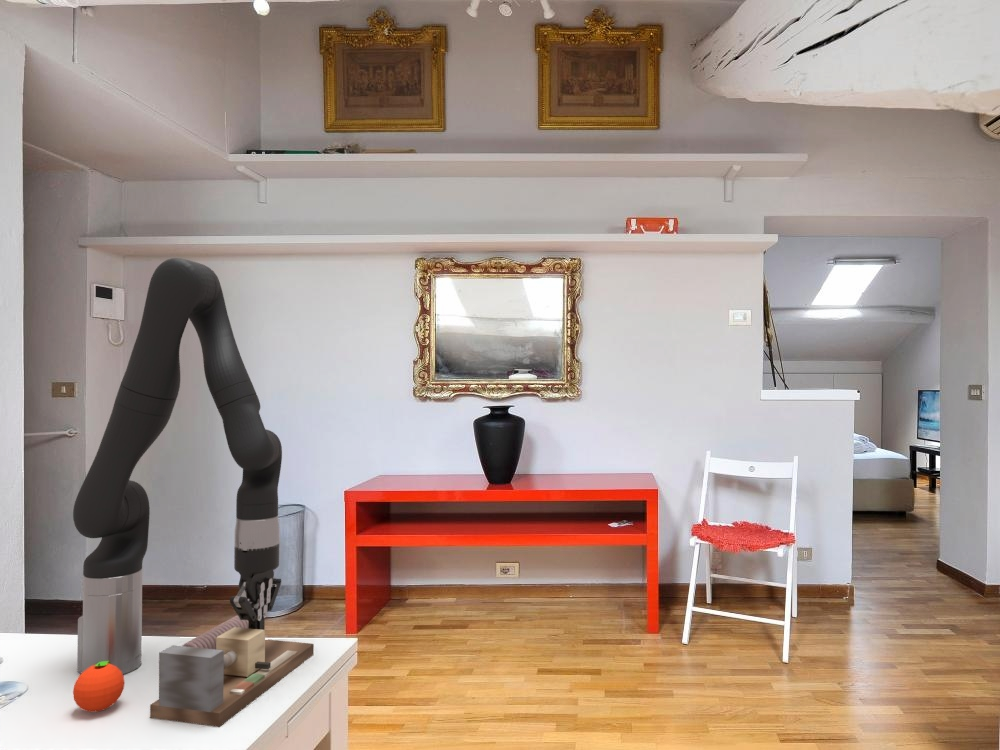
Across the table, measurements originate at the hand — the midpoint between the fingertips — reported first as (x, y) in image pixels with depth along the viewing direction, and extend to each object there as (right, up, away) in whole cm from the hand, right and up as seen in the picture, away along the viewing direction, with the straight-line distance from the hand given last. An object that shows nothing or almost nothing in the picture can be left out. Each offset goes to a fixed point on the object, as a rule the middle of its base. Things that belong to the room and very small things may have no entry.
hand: (256, 640), depth 119 cm
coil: (-11, -6, +10) cm, 16 cm away
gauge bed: (-1, -5, -5) cm, 7 cm away
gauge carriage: (0, -3, -6) cm, 7 cm away
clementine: (-19, -5, -14) cm, 24 cm away
